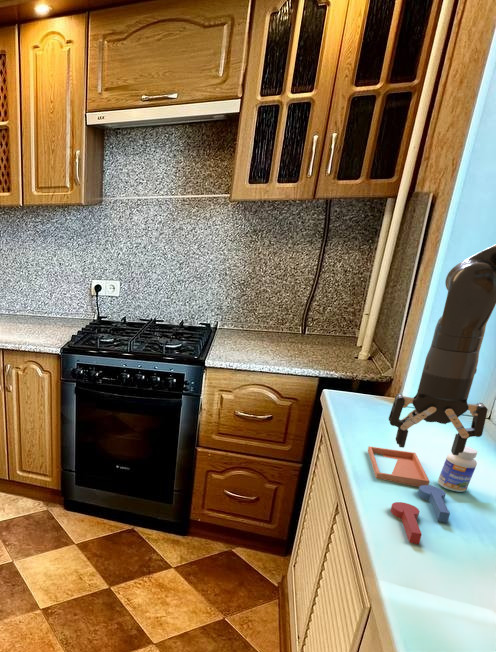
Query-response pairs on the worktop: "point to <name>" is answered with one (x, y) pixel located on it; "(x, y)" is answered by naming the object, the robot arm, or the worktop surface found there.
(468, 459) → the pill bottle
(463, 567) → the worktop surface
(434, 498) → the blue spoon
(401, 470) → the tray
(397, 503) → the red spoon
